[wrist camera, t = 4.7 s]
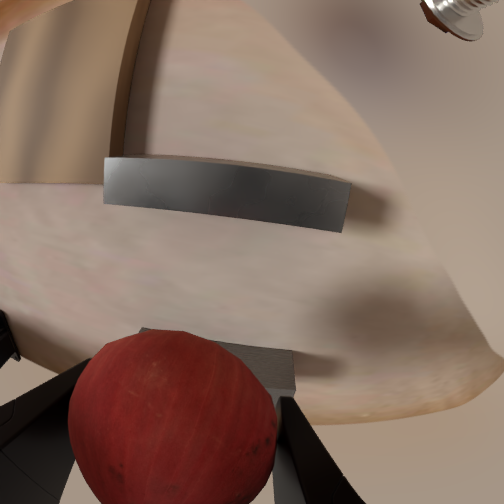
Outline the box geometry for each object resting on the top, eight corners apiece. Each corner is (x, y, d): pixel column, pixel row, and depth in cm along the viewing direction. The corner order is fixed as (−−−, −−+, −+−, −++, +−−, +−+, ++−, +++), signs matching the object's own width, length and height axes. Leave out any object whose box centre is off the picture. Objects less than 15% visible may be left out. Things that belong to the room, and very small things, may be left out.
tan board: (1, 179, 14) (-12, 183, 12) (21, 34, 9) (10, 31, 8) (121, 180, 14) (107, 184, 12) (153, -9, 9) (144, -20, 8)
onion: (302, 317, 9) (338, 574, 2) (243, 411, 11) (228, 575, 4) (137, 255, 9) (-36, 458, 1) (120, 367, 11) (47, 516, 3)
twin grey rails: (144, 349, 18) (126, 383, 15) (138, 153, 13) (104, 157, 10) (285, 371, 18) (288, 410, 15) (330, 175, 13) (351, 183, 10)
